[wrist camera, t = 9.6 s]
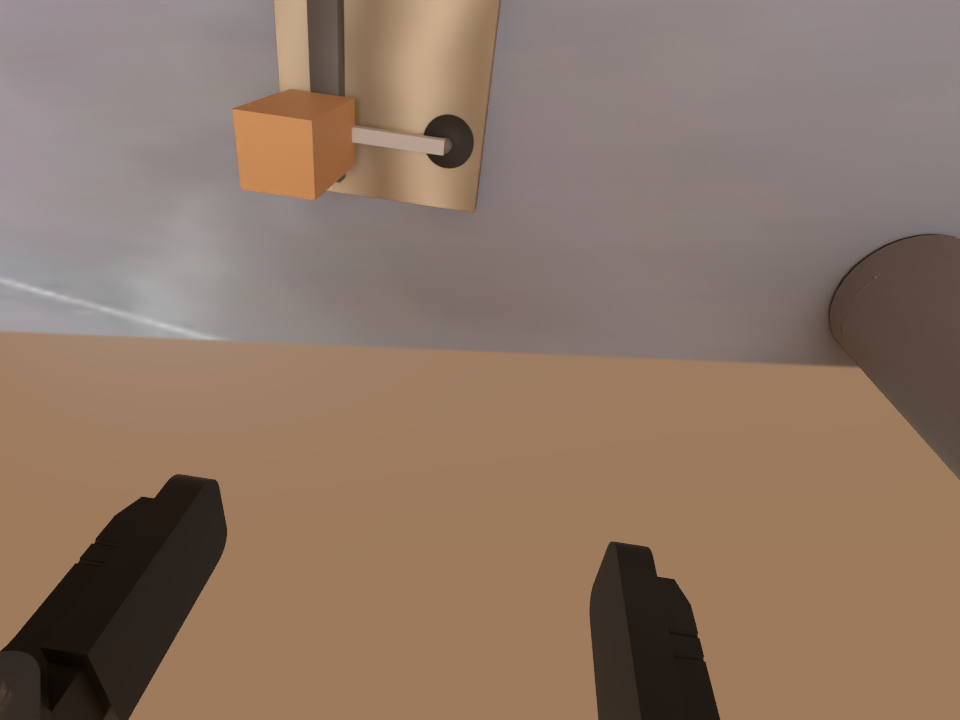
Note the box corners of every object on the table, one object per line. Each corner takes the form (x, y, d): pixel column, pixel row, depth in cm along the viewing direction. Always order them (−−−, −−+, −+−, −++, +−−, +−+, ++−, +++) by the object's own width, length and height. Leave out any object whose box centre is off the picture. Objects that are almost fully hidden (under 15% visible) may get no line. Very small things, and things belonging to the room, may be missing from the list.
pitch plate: (527, -226, 25) (523, -336, 17) (475, 206, 36) (458, 265, 28) (266, -263, 25) (138, -390, 17) (293, 179, 36) (222, 230, 28)
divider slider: (456, 110, 31) (434, 138, 25) (450, 174, 33) (429, 217, 27) (296, 86, 31) (232, 109, 25) (300, 152, 33) (241, 189, 27)
